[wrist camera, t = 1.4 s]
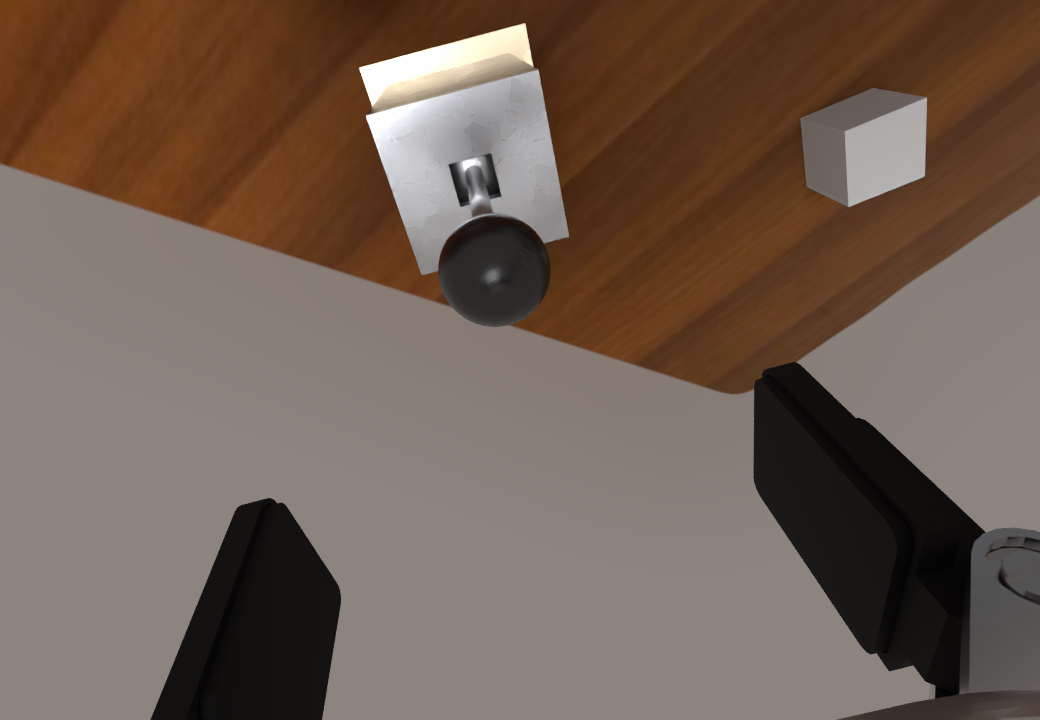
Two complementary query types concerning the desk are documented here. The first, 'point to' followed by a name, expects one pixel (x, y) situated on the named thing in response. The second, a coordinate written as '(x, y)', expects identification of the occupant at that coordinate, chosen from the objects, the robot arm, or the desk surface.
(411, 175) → the grey slotted box
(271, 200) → the desk surface
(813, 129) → the white cube
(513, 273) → the ball knob lever
